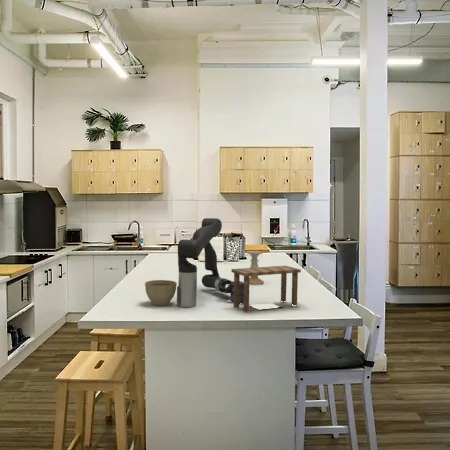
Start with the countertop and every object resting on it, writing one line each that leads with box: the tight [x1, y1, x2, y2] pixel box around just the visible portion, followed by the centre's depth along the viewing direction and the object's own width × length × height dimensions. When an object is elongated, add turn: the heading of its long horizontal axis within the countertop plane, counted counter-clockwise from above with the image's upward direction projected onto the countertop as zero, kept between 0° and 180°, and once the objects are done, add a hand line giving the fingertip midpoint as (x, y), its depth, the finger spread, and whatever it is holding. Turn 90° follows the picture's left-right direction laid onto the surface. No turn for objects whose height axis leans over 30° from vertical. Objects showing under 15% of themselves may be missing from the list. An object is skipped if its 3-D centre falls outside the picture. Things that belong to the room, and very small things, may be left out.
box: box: [229, 280, 244, 305], centre depth 264 cm, size 8×6×11 cm
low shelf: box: [231, 265, 302, 313], centre depth 254 cm, size 32×14×19 cm, turn 117°
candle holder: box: [246, 250, 265, 285], centre depth 318 cm, size 12×12×20 cm
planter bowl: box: [144, 279, 178, 306], centre depth 258 cm, size 16×16×11 cm
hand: (237, 290), depth 264 cm, fingers open, 8 cm apart
